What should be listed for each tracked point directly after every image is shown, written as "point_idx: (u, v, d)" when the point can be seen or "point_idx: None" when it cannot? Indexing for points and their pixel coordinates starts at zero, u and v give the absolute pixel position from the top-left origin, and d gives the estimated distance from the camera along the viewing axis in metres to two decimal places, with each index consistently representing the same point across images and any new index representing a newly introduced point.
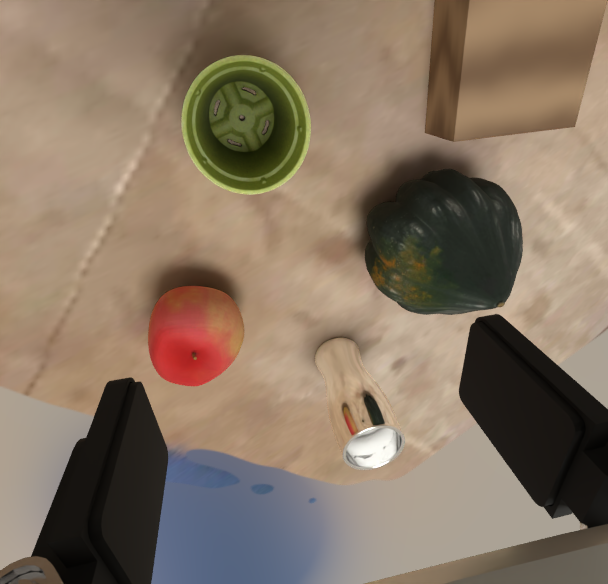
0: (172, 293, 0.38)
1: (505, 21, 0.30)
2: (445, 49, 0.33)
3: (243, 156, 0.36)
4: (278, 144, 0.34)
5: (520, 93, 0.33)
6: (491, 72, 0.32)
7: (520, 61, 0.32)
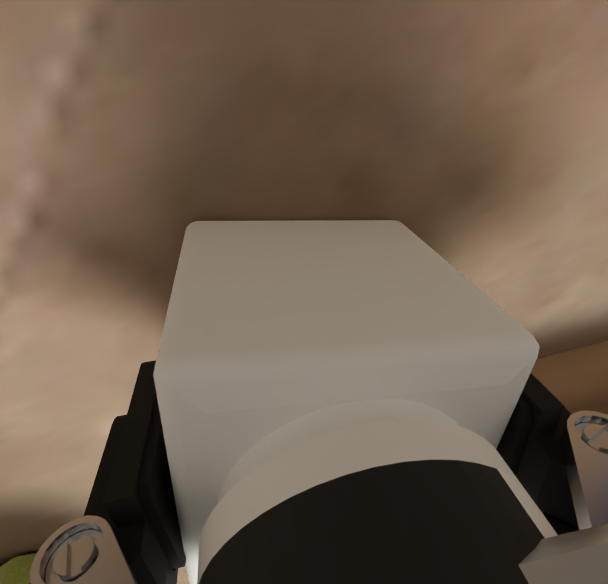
0: None
1: None
2: None
3: None
4: None
5: None
6: None
7: None
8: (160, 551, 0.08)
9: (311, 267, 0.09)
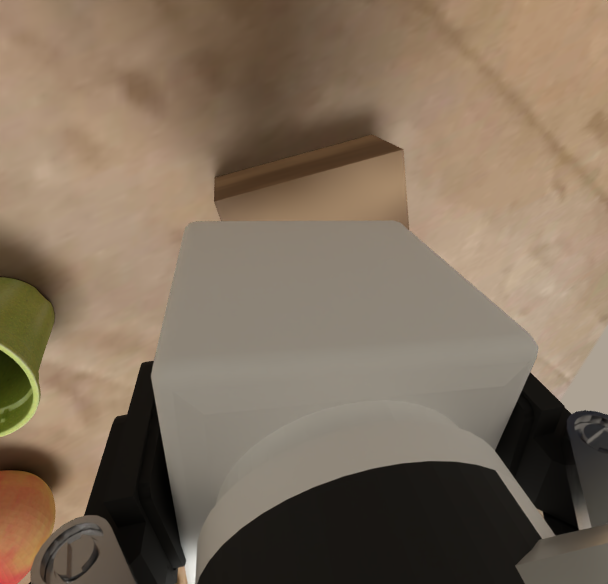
0: None
1: None
2: None
3: None
4: None
5: None
6: None
7: None
8: (160, 551, 0.08)
9: (309, 267, 0.09)
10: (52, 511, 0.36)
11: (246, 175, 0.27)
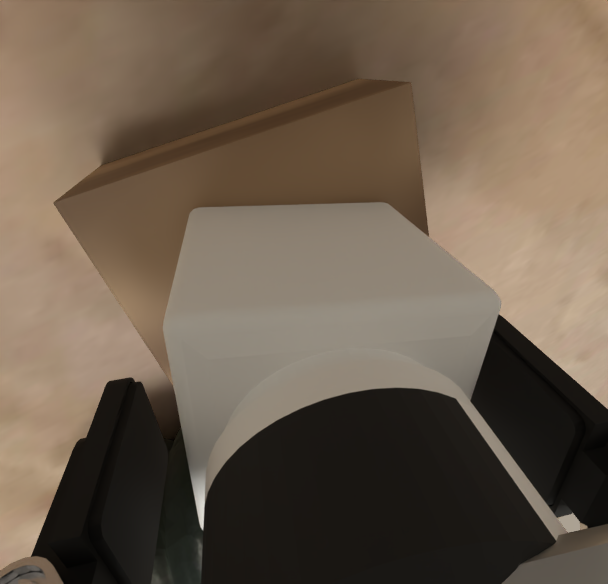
0: None
1: None
2: None
3: None
4: None
5: None
6: None
7: None
8: None
9: (301, 242, 0.10)
10: None
11: (143, 156, 0.16)
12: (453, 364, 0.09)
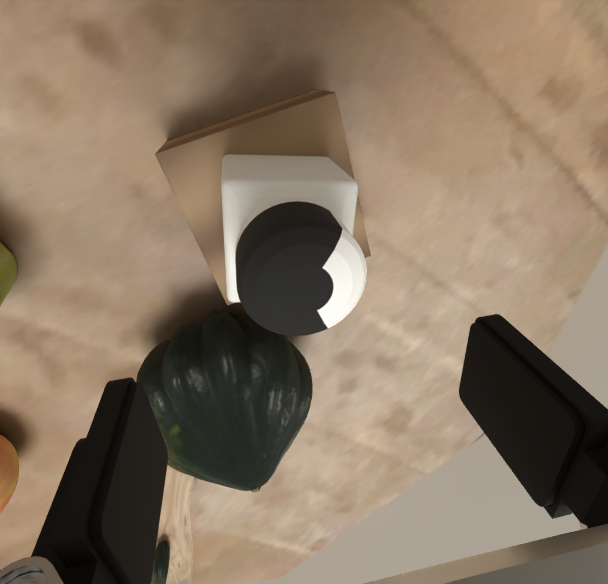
0: None
1: None
2: None
3: None
4: (1, 300, 0.29)
5: None
6: None
7: None
8: None
9: (278, 166, 0.22)
10: (14, 469, 0.37)
11: (193, 134, 0.28)
12: (339, 212, 0.21)
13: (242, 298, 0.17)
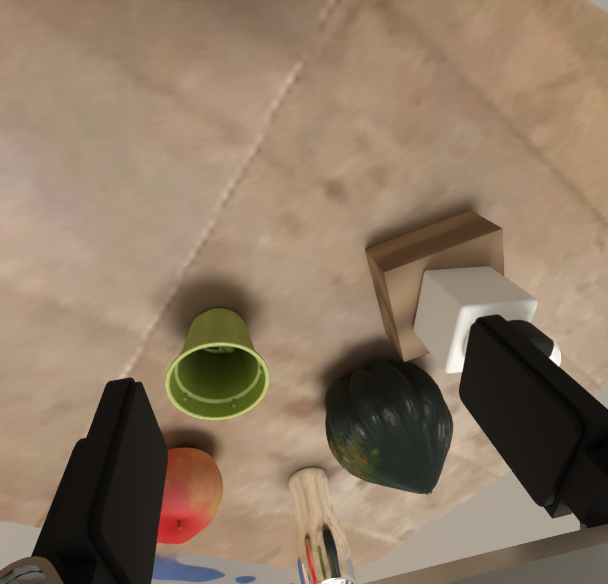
0: None
1: None
2: (382, 297, 0.42)
3: (220, 361, 0.43)
4: (247, 360, 0.41)
5: None
6: None
7: None
8: None
9: (475, 284, 0.34)
10: (221, 477, 0.49)
11: (390, 248, 0.40)
12: (525, 318, 0.33)
13: None
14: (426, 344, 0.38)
